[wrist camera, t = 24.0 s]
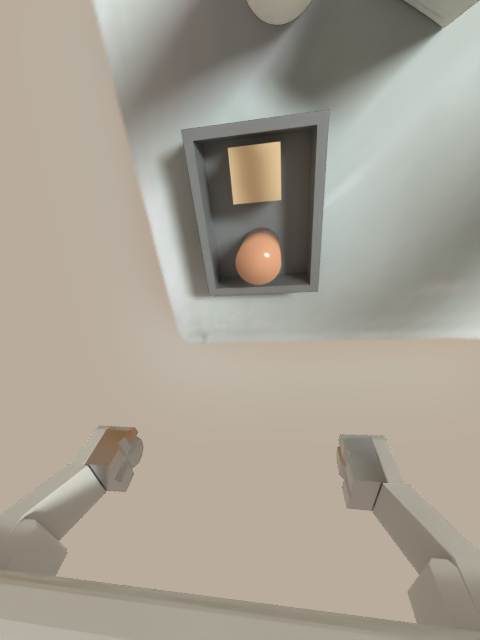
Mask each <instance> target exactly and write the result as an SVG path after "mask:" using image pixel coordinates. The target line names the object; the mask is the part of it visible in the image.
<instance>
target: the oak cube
mask: <svg viewBox="0 0 480 640" xmlns="http://www.w3.org/2000/svg"><path fill="white" fill-rule="evenodd" d="M228 155H229V165H230V175H231V185H232V195H233V204H244V203H255V202H266V201H277V200H281V145H280V142H272V143H264V144H256V145H248V146H240V147H232V148H228Z"/></svg>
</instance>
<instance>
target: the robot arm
mask: <svg viewBox="0 0 480 640" xmlns="http://www.w3.org/2000/svg"><path fill="white" fill-rule="evenodd" d="M137 433H138V432H137V430H136V429H135V427H115V426H113V427H112V426H99V427H97V428H96V429H95V430H94V432H93V433H92V435H91V436H90V438H89V439H88V441H87V442H86V444H85V446H84V447H83V448H82V450H81V451H80V453H79V454H78V456H77V457H76V459H75V460H74V462H73V463H72V464H68V465H67V466H65V467H64V468H62V469H61V470H60V471H58V472H57V473H56V474H54V475H53V476H52V477H50V478H49V479H47V480H46V481H45V482H44V483H42V484H41V485H40V486H38V487H37V488H35V489H34V490H33V491H31V492H30V493H29V494H27V495H26V496H25V497H23V498H22V499H21V500H19V501H18V502H16V503H15V504H14V505H12V506H11V507H10V508H8V509H7V510H6V511H4V512H3V513H2V514H0V640H480V551H479V550H478V549H477V548H476V547H475V546H474V545H473V544H472V543H471V542H470V541H469V540H468V539H467V538H466V537H465V536H464V535H462V533H460V532H459V531H458V530H457V529H456V528H455V527H454V526H453V525H452V524H451V523H450V522H449V521H448V520H447V519H446V518H445V517H444V516H443V515H442V514H441V513H440V512H439V511H437V510H436V509H435V508H434V507H433V506H432V505H431V504H430V503H429V502H428V501H427V500H426V499H425V498H424V497H423V496H422V495H421V494H420V493H419V492H418V491H416V489H415V488H413V487H412V486H411V485H409V484H405V481H404V479H403V477H402V474H401V472H400V470H399V467H398V465H397V463H396V460H395V458H394V455H393V453H392V451H391V448H390V446H389V444H388V441H387V439H386V438H385V437H384V436H369V435H343V434H342V435H340V436H339V444H340V446H339V447H338V448H337V464H338V469H339V474H340V476H341V477H342V478H343V479H344V481H343V486H342V489H343V493H344V498H345V502H346V506H347V508H350V509H360V510H370V511H373V513H374V515H375V516H376V517H377V519H378V520H379V521H380V523H381V524H382V526H383V527H384V528H385V529H386V531H387V532H388V533H389V535H390V536H391V538H392V539H393V540H394V541H395V543H396V544H397V546H398V547H399V548H400V550H401V551H402V552H403V554H404V555H405V556H406V557H407V559H408V560H409V562H410V563H411V564H412V566H413V567H414V568H415V570H416V571H417V572H418V574H419V576H418V578H417V579H416V580H415V582H414V583H413V584H412V586H411V587H410V589H409V590H408V595H409V599H410V602H411V605H412V608H413V611H414V615H415V618H416V621H417V623H409V622H401V621H393V620H386V619H378V618H370V617H363V616H356V615H347V614H340V613H333V612H324V611H317V610H309V609H302V608H294V607H286V606H279V605H271V604H264V603H255V602H248V601H241V600H233V599H225V598H217V597H210V596H202V595H195V594H187V593H178V592H172V591H164V590H156V589H149V588H141V587H133V586H125V585H118V584H110V583H103V582H94V581H87V580H79V579H72V578H64V577H57V576H56V574H57V572H58V570H59V568H60V566H61V564H62V563H63V561H64V559H65V557H66V555H67V548H65V547H64V546H63V545H62V544H61V543H60V542H59V540H60V539H61V538H62V537H63V536H64V535H65V534H66V533H67V532H68V531H69V530H70V529H71V528H72V527H73V526H74V525H75V524H76V523H77V522H78V521H79V520H80V519H81V518H82V517H83V515H85V513H86V512H87V511H88V510H89V509H90V508H91V507H92V506H93V505H94V504H95V503H96V502H97V501H98V500H99V499H100V498H101V497H102V496H103V495H104V494H105V493H106V491H121V492H126V490H127V488H128V486H129V484H130V482H131V479H132V477H133V475H134V473H133V468H134V467H135V466H136V465H137V464H138V463H139V461H140V459H141V457H142V452H143V442H142V440H141V439H140V438H139V437H137V436H136V435H137Z"/></svg>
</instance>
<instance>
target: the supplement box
mask: <svg viewBox="0 0 480 640" xmlns="http://www.w3.org/2000/svg"><path fill="white" fill-rule="evenodd" d="M404 1H405V2H407V3H408V4H410V5H412V6H413V7H414V8H416V9H417V10H419V11H420V12H422V13H423V14H425V15H426V16H428V17H429V18H431V19H432V20H433V21H435V22H436V23H437V24H439V25H440V26H441V27H443V28H444V27H446V26H447V25H449V24H450V23H451V22H453V21H454V20H455V19H456V18H458V17H459V16H460V15H461V14H463V13H464V12H465V11H467V10H468V9H469V8H470V7H472V6H473V5H474V4H475V3H477V2H478V1H479V0H404Z"/></svg>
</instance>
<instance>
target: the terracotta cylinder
mask: <svg viewBox="0 0 480 640" xmlns="http://www.w3.org/2000/svg"><path fill="white" fill-rule="evenodd" d="M280 268H281V244H280V240H279V238H278V236H277V234H276V233H275V232H274V231H272V230H271V229H268V228H264V227H260V228H256V229H253V230H251V231H250V232H249V233H248V234H247V235H246V237H245V239H244V241H243V243H242V245H241V247H240V249H239V251H238V253H237V256H236V269H237V272H238V273H239V275H240V276H241V277H242V279H244V280H245V281H246V282H248V283H251V284H255V285H262V284H266V283H269V282H270V281H272V280H273V279H274V278H275V277H276V276H277V275H278V273H279V271H280Z"/></svg>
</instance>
